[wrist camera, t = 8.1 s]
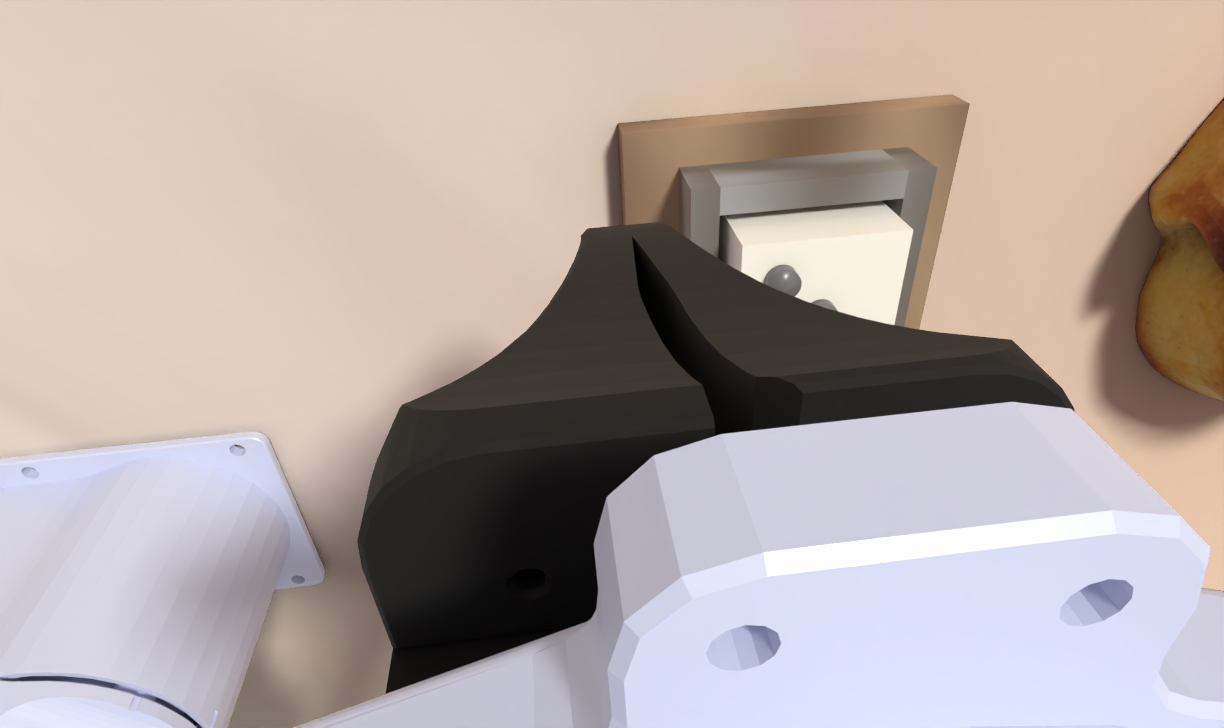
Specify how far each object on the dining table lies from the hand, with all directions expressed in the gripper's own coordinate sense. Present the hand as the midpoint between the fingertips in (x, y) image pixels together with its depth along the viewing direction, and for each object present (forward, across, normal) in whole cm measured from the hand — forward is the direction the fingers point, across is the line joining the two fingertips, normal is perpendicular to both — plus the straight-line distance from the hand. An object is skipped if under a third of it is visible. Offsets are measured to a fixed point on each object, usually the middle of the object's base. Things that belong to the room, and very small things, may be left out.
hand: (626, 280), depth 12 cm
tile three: (+9, -6, +5) cm, 12 cm away
